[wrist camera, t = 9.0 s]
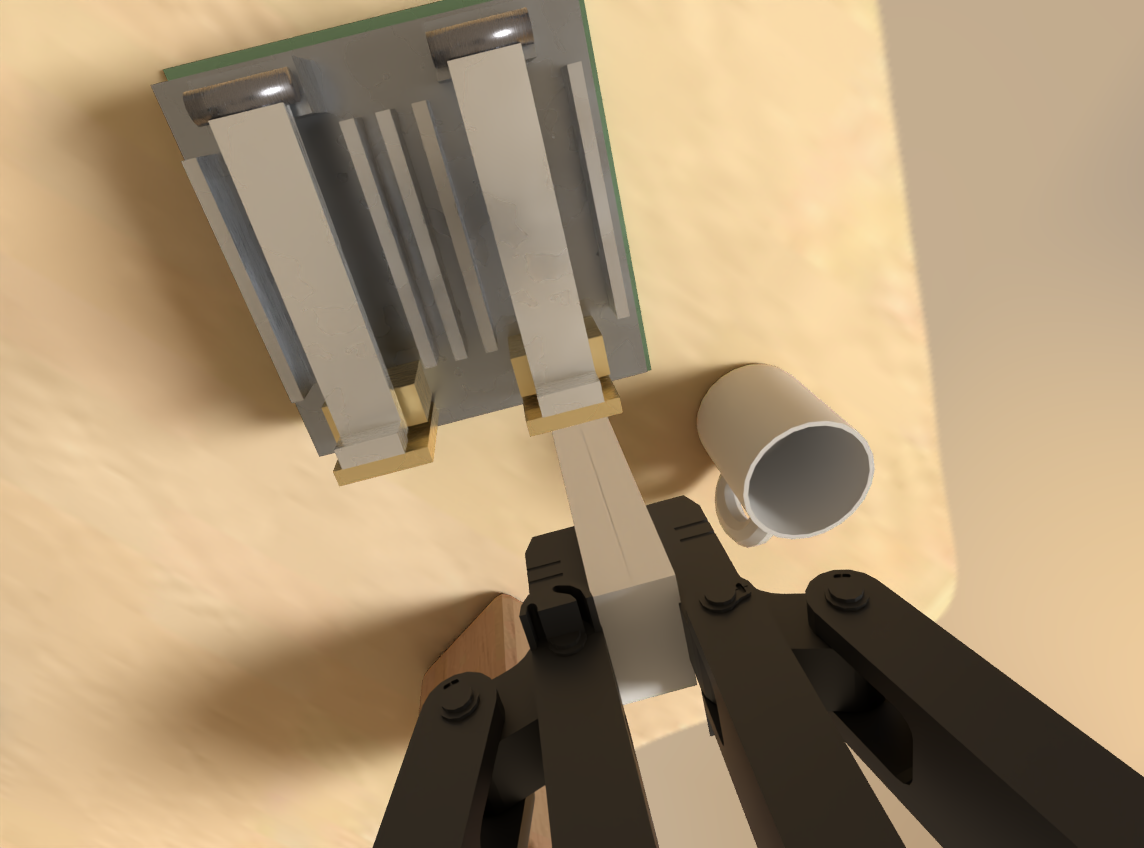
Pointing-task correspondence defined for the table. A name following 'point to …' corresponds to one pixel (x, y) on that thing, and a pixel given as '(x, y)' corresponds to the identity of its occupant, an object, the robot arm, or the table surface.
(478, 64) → the silver long flat bar
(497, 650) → the wooden block
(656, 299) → the table surface
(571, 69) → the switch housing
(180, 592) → the table surface
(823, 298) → the table surface
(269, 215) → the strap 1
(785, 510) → the cup
